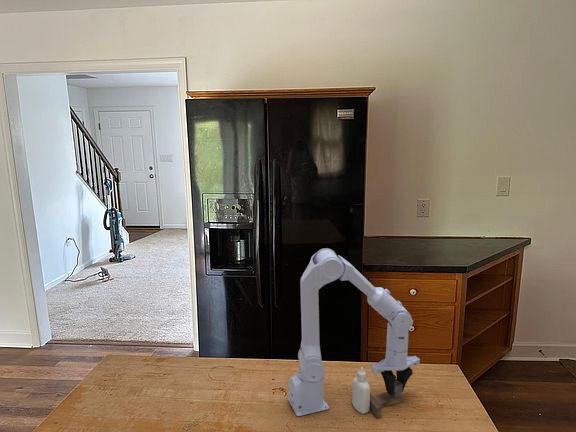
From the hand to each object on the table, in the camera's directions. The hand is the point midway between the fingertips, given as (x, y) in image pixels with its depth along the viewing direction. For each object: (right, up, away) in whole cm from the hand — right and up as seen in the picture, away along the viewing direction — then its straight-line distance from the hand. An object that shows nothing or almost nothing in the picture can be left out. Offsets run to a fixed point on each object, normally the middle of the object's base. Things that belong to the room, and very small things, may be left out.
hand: (394, 391), depth 110 cm
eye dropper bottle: (-10, -3, -3) cm, 11 cm away
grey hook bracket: (-4, -3, -1) cm, 4 cm away
